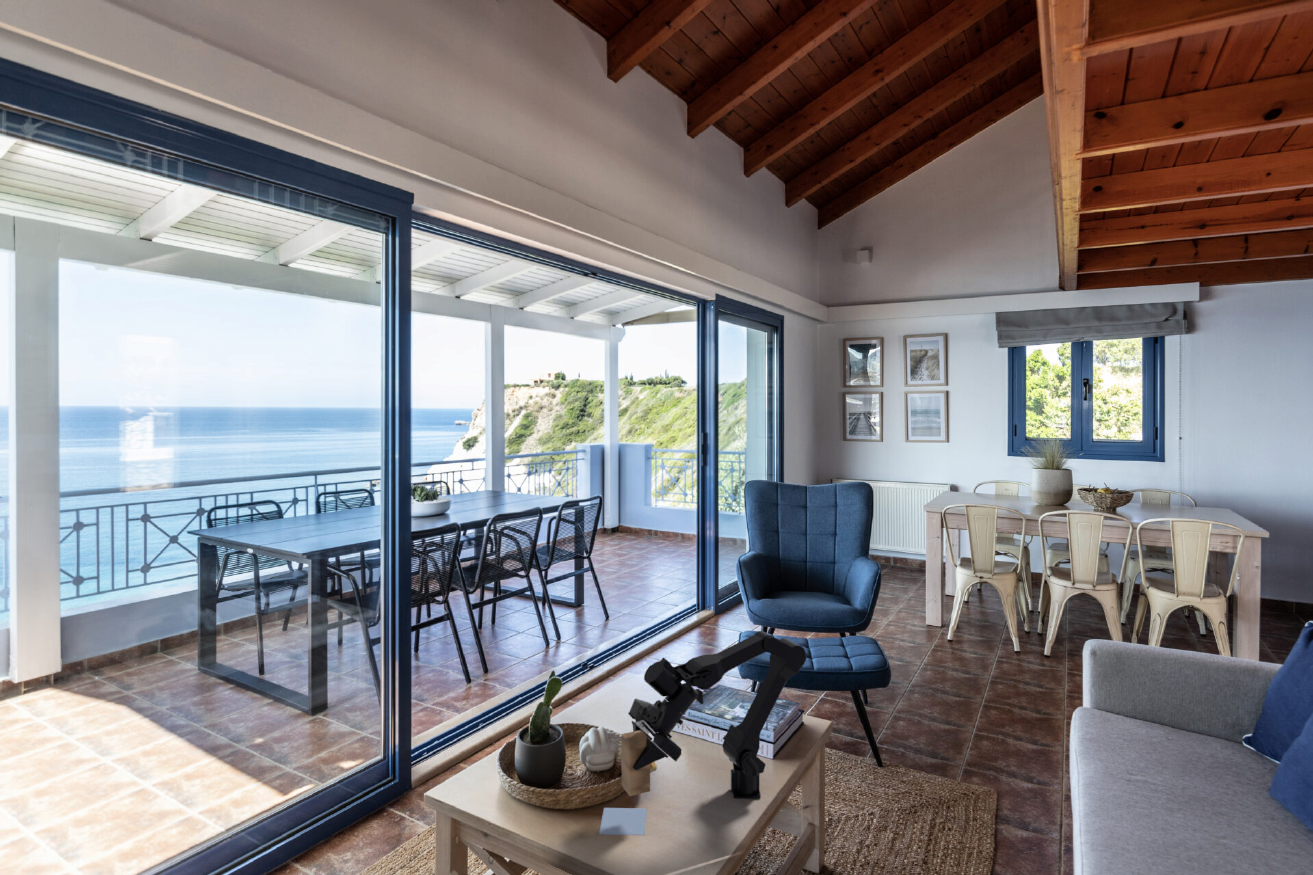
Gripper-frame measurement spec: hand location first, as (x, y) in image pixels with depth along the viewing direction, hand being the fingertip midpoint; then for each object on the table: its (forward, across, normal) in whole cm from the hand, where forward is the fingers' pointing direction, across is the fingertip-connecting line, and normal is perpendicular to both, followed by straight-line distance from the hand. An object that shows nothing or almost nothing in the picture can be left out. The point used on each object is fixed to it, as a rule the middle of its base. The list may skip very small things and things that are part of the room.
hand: (630, 763), depth 158 cm
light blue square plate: (+11, 0, +8) cm, 14 cm away
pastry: (+3, -19, +17) cm, 26 cm away
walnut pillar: (+3, 0, +5) cm, 6 cm away
